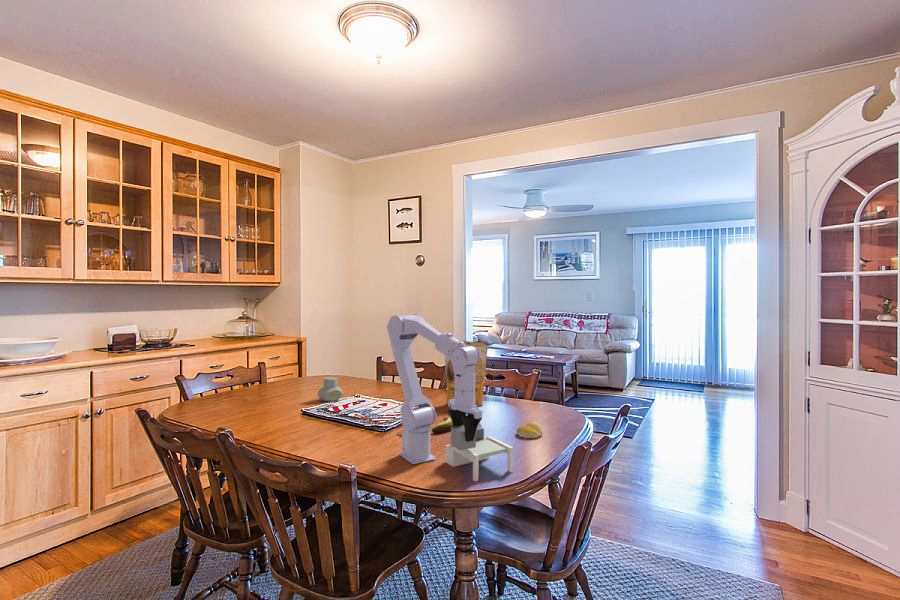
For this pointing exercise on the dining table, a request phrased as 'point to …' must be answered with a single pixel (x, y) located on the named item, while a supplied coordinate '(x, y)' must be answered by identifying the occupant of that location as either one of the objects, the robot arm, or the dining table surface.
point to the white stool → (474, 457)
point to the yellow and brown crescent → (440, 428)
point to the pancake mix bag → (479, 373)
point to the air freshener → (330, 390)
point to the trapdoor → (485, 445)
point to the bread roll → (529, 431)
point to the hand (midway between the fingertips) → (464, 437)
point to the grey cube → (461, 438)
